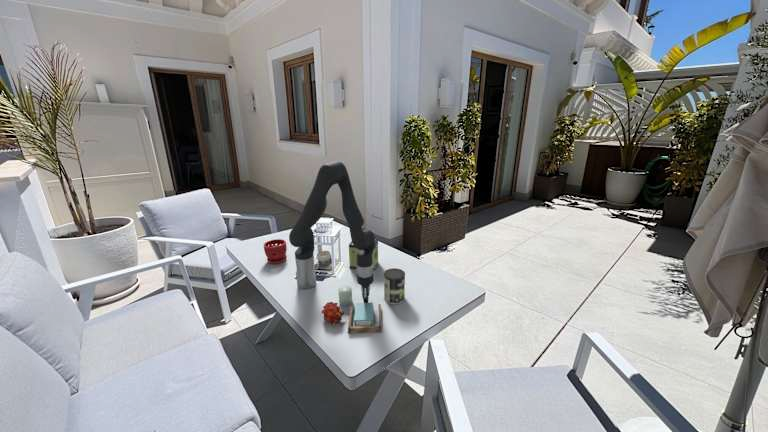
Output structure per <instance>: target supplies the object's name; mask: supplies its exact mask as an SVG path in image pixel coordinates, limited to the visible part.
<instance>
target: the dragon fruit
mask: <svg viewBox="0 0 768 432" xmlns="http://www.w3.org/2000/svg"><path fill="white" fill-rule="evenodd" d="M338 305H339V302H333V301H330V302H326V304H325V305H323V307H322V308H323V309H322V310H321V314H323V319H324V321H325V322H326V321H327V322H329V323H331V325H332V324H333V325H337V322H338V323H339V322H342V319H343V316H344V314H345V311H343V310H342V308H341V306H338Z"/></svg>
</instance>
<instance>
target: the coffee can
mask: <svg viewBox="0 0 768 432" xmlns="http://www.w3.org/2000/svg"><path fill="white" fill-rule="evenodd" d="M405 276H406V272H405V271H404V270H403V269H400V268H388V269H386V270H385V271H384V272H383V282H384V283H383V292H384V293H383V294H384V295H383V299H384V301H385V303H388V304H390V305H399V304H402V303H403V302H404V301H405V289H406V288H405V286H406V285H405V284H406V280H405V279H406V277H405Z"/></svg>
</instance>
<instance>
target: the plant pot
mask: <svg viewBox="0 0 768 432" xmlns="http://www.w3.org/2000/svg"><path fill="white" fill-rule="evenodd" d="M287 249H288V248H287V241H286V239H282V238H278V239H277V238H276V239H270V240H269V241H266V242H264V243H263V250H264V254H265V256H266V259H267V260H266V261H267V262H268V263H269V264H280V263H282V262H284V261H286V260H287V258H288V255H286V254H287V251H288V250H287Z"/></svg>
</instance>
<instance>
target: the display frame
mask: <svg viewBox="0 0 768 432" xmlns="http://www.w3.org/2000/svg"><path fill="white" fill-rule="evenodd" d="M377 306H378V307H377V309H378V325H373V326H357V327H354V326H352V323H353V316H354V315H353V313H354V304H350V309H349V316H348V324H347V333H348V334H366V333H368V334H369V333H372V334H373V333H382V310H381V309H382V306H381V303H378V305H377Z"/></svg>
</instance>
